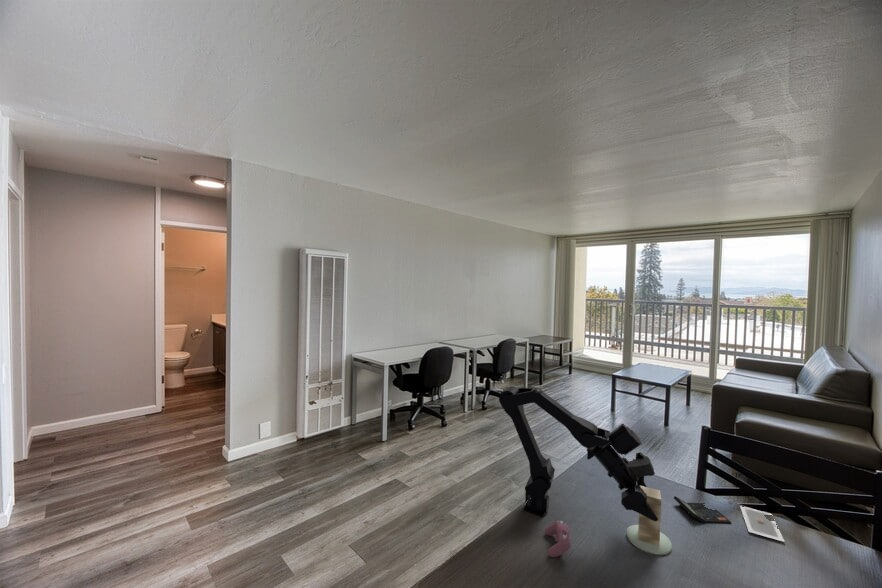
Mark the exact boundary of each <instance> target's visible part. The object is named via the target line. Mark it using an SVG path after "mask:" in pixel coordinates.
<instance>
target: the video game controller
mask: <svg viewBox="0 0 882 588" xmlns="http://www.w3.org/2000/svg"><path fill="white" fill-rule="evenodd" d="M544 534H545V535H546V536H549V537H551V536H555V540H554V541H555V542H556V543H555V544H554V545H551V547H549V549H548V550H547V555H548V556H549V557H552V558H556V557H557V558H558V557H560V556H561V555H563V554H565V553H566V552H568V550H569V549H571V547H572V545H571V543H572V541H571V537H570V530H569V527H568V524H567V523H566V522H565V521H563V520H561V519H559V520H556V521H555V522H553V523H552V524H550V525H548V526H547V527H545V529H544Z"/></svg>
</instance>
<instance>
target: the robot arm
mask: <svg viewBox="0 0 882 588" xmlns="http://www.w3.org/2000/svg"><path fill="white" fill-rule="evenodd" d="M498 402H499V404H500V405H501V407H502V409H503V411H504V412H505V414H507V416H508V417H509V418H510V419H511V421H512V423H513V426H514V427H515V430H516V433H517V435H518V438H519V440H520V442H521V446H522V447H523V450H524V452H525V454H526V458H527V460H528V464H529V474H530V475H529V478H528V480H527V481H526V485H525V486H524V490H525V493H524V494H525V495H524V496H525V498H524V501H525V502H526V501H527V500H528V501H527V503H526V505H525V504H524V506H523V507H522V509H523V511H526V512H528V513H530V514H533V515H536V516H538V517H542V518H543V517H545V515H546V513H548V511H549V509H550V496H549V495H548V494H549V493H548V491H549V490H550V489H551V487H552V485H553V481H554V478H555V472H556V468H554V466H553V463H552V460H551V458H546V457H544V456H543V455H542V452H541V450H540V448H539V445H538V443H537V441H536V439H535V435H534V433H533V431H532V428H531V427H530V426H531V425H530V423H529V421H528V419H527V417H526V413H525V410H524V407H525V406H524V405H528V404H529V405H530V404H535V405H537V406H538V407H539V408H540V409H542V410H543V411H544V412H546V413H547V414H548V415H550V416H551V417H553V418H554V419H555V420H556V421H557V422H559V423H560V424H561V425H562V426H564V427H565V428H566V429H567V430H568V431H569V433H570V434H571V436H572V437H573V438H574V439H575V440H576V441H577V442H578V443H579V444H580V446H582V447H583V448H585V449H586V452H587V456H586V458H587V460H591V459H592V458H593V457H595V459H596V460H597V461H598V462H599V463H600V465H601V466H603V468H604V469H605V471H606V472H607V476H608V477H609V478H612V479H613V480H614V481H615V482H616V483H617V485H618V488H619V490H620V491H622V492H621V497H620V498H621V501H620V502H621V505H622V506H623V508H625V510H626V511H633V512H635V513H637V514H639V513H640V514H641V515H643V516H645V517H647V518H649V519H651V520H653V521H655V522H656V521H658V518H657V516H656V515H655V513H654V512H653V510H652V509H651V507H650V506H649V504H648V503H647V495H646V493H645V492H644V490H643V489H642V488H641V487H640V486H644V487H648V486H647V484H646V482H645V477H651V476H652V477H653V476H654V475H655V474H656V473H655V468H654V465H653V463H652V462H651V459H650V458H649V457H648V455H646V456H645V454H644V453H643V452H641V451H640V452H636V453H635V458H633V459H632V460H628V459H627V458H626V457H624V456H626V455H628V454H629V453H631V452H633V451H634V450H635V449H637V448H639V447H640V446H641V445H642V441H641V439H640V437H639V436H638V434H636V431H635V432H634V430H633V429H631V428H629V427H628V426H626V425H625V424H624V423H621V424H619V426H618V427H616V428H615V429H613V430H612V431H610V430H608V429H605V428H602V427H598V426H597V425H596V424H595V423H593V422H591V421H590V420H588V419H585V418H583V417H580V416H577V415H575V414H574V413H572V412H571V411H570V410H568V409H567V408H566V407H564V406H563V405H562V404H561V403H559V402H557V401H556V400H555V399H554V398H552V396H550V395H548V394H547V393H546V392H544V391H543V390H542V388H540V387H516V386H508V387H506V388H505V389H504V390H503V391H502V392H501V393H500V395H499V397H498ZM620 455H622V456H623V455H624V456H623V457H622V456H620ZM624 489H625V490H624ZM530 498H531V499H530ZM525 502H524V503H525Z"/></svg>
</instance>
